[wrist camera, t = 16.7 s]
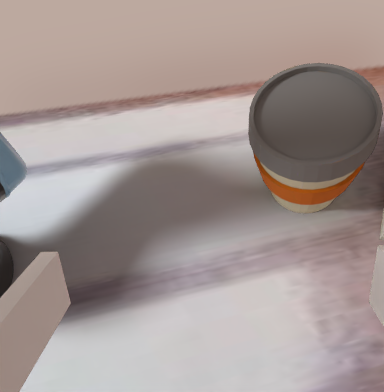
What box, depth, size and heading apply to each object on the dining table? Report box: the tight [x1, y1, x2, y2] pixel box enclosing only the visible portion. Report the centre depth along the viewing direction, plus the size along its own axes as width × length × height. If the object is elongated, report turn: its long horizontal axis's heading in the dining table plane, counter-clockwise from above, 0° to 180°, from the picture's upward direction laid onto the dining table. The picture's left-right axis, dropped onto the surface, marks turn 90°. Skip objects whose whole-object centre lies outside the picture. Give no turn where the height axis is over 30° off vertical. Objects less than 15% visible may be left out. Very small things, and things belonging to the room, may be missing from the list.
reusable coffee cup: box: [248, 63, 383, 213], centre depth 39 cm, size 13×12×15 cm
